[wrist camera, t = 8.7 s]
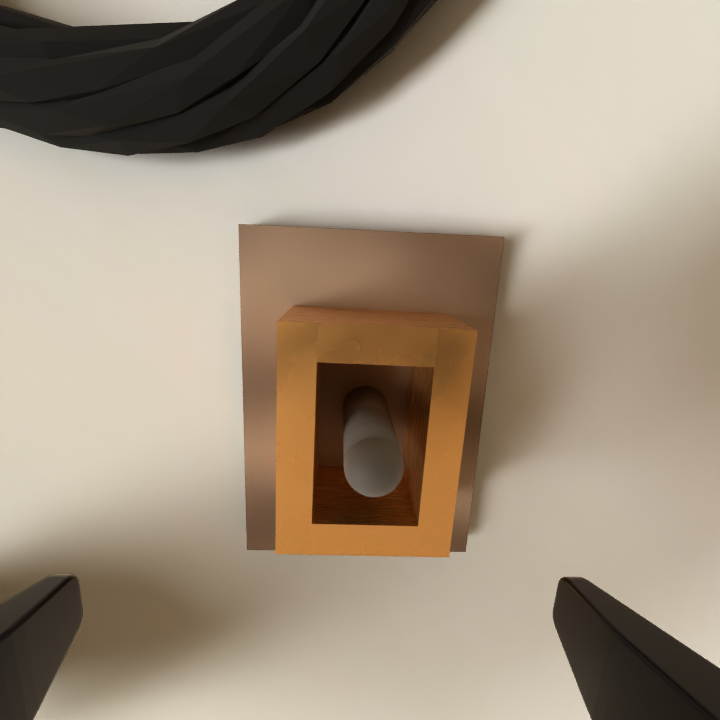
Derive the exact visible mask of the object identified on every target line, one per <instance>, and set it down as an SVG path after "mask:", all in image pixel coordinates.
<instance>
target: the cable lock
mask: <svg viewBox="0 0 720 720" xmlns="http://www.w3.org/2000/svg"><path fill="white" fill-rule="evenodd" d="M436 1H437V0H236V1H234V2H232V3H230V4H228V5H226V6H224V7H222V8H220V9H218V10H216V11H214V12H212V13H210V14H208V15H206V16H204V17H202V18H200V19H198V20H196V21H194V22H177V23H152V24H127V25H102V26H78V27H72V26H69V25H65V24H62V23H59V22H55V21H52V20H49V19H45V18H42V17H39V16H35V15H32V14H29V13H25V12H22V11H19V10H15V9H12V8H9V7H5V6H2V5H0V128H6V129H9V130H12V131H15V132H18V133H21V134H24V135H27V136H30V137H32V138H35V139H38V140H41V141H44V142H47V143H50V144H53V145H56V146H59V147H64V148H72V149H80V150H88V151H96V152H104V153H112V154H120V155H128V156H129V155H134V154H138V153H139V154H149V153H184V152H201V151H205V150H209V149H213V148H217V147H221V146H225V145H229V144H234V143H238V142H242V141H246V140H250V139H254V138H258V137H262V136H264V135H265V134H267V133H268V132H270V131H271V130H273V129H274V128H276V127H278V126H280V125H282V124H284V123H287V122H289V121H291V120H293V119H296V118H298V117H300V116H302V115H305V114H307V113H309V112H311V111H314V110H316V109H318V108H320V107H322V106H325V105H327V104H329V103H331V102H332V101H333V100H335V99H336V98H337V97H338V96H339V95H341V94H342V93H343V92H344V91H345V90H347V89H348V88H349V87H350V86H351V85H353V84H354V83H355V82H356V81H357V80H358V79H360V78H361V77H362V76H363V75H364V74H366V73H367V72H368V71H369V70H370V69H372V68H373V67H374V66H375V65H376V64H378V63H379V62H380V61H381V60H382V59H384V58H385V57H386V56H387V55H388V54H390V53H391V52H392V51H393V50H394V49H395V47H396V46H397V45H398V44H399V42H400V41H401V40H402V38H403V37H404V36H405V35H406V33H407V32H408V31H409V30H410V29H411V28H412V27H413V26H414V25H415V24H416V23H417V22H418V20H419V19H420V18H421V17H422V16H423V15H424V14H425V13H426V12H427V11H428V10H429V9H430V8H431V6H432V5H433V4H434V3H435V2H436Z"/></svg>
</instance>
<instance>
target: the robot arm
mask: <svg viewBox="0 0 720 720" xmlns="http://www.w3.org/2000/svg"><path fill="white" fill-rule="evenodd" d="M82 616H83V608H82V601H81V593H80V586H79V580H78V578H77V577H76V576H75V575H72V574H54V575H50V576H48V577H46V578H44V579H42V580H40V581H39V582H37V583H35V584H33V585H32V586H30V587H28V588H27V589H25V590H23V591H21V592H20V593H18V594H16V595H14V596H13V597H11V598H9V599H7V600H6V601H4V602H2V603H1V604H0V720H33V719H34V717H35V715H36V714H37V712H38V710H39V708H40V706H41V704H42V702H43V700H44V698H45V696H46V694H47V692H48V690H49V687H50V685H51V683H52V681H53V679H54V677H55V675H56V673H57V671H58V669H59V667H60V665H61V663H62V661H63V659H64V657H65V655H66V653H67V651H68V649H69V647H70V645H71V643H72V641H73V639H74V637H75V635H76V633H77V631H78V629H79V626H80V624H81V621H82ZM553 620H554V624H555V627H556V630H557V633H558V635H559V638H560V640H561V643H562V646H563V648H564V651H565V653H566V656H567V658H568V661H569V664H570V666H571V669H572V671H573V674H574V677H575V679H576V682H577V684H578V687H579V689H580V692H581V695H582V697H583V700H584V702H585V705H586V707H587V710H588V712H589V714H590V717H591V719H592V720H720V668H718V667H717V666H715V665H714V664H712V663H711V662H709V661H708V660H706V659H705V658H703V657H702V656H700V655H699V654H697V653H696V652H694V651H693V650H691V649H690V648H688V647H687V646H685V645H684V644H682V643H681V642H679V641H678V640H676V639H675V638H673V637H672V636H670V635H669V634H667V633H666V632H664V631H663V630H661V629H660V628H658V627H657V626H655V625H654V624H652V623H651V622H649V621H648V620H646V619H645V618H643V617H642V616H641V615H639V614H638V613H636V612H635V611H633V610H632V609H630V608H629V607H627V606H626V605H624V604H623V603H621V602H620V601H618V600H617V599H615V598H614V597H612V596H611V595H609V594H608V593H606V592H605V591H603V590H602V589H600V588H599V587H597V586H596V585H594V584H593V583H591V582H590V581H588V580H586V579H585V578H582V577H563V578H561V579H560V580H559V583H558V587H557V592H556V598H555V603H554V608H553Z"/></svg>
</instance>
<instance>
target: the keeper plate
mask: <svg viewBox="0 0 720 720" xmlns="http://www.w3.org/2000/svg"><path fill="white" fill-rule="evenodd" d="M503 242H504V237H495V236H474V235H453V234H433V233H412V232H391V231H371V230H350V229H330V228H309V227H288V226H268V225H247V224H239V260H240V298H241V336H242V374H243V413H244V451H245V489H246V527H247V550H275V537H276V404H277V321H278V320H279V319H280V318H281V317H282V316H283V315H284V314H285V313H286V312H287V311H288V310H289V309H290V308H291V307H292V306H310V307H330V308H349V309H369V310H389V311H408V312H428V313H445V314H447V315H449V316H451V317H453V318H455V319H457V320H459V321H460V322H462V323H464V324H466V325H468V326H470V327H472V328H473V329H475V330H477V339H476V347H475V355H474V363H473V371H472V379H471V386H470V394H469V402H468V410H467V418H466V426H465V434H464V442H463V450H462V458H461V466H460V474H459V482H458V490H457V498H456V506H455V514H454V521H453V529H452V537H451V545H450V552H466V544H467V535H468V527H469V519H470V511H471V503H472V495H473V487H474V478H475V470H476V462H477V454H478V446H479V438H480V429H481V421H482V413H483V405H484V397H485V389H486V380H487V372H488V364H489V356H490V348H491V340H492V332H493V323H494V315H495V307H496V299H497V291H498V283H499V274H500V266H501V258H502V250H503ZM409 378H410V366H392V365H369V364H347V363H324V362H322V378H321V407H320V436H319V465H322V466H344V473H345V476H346V479H347V481H348V483H349V484H350V486H351V487H352V488H353V489H354V490H355V491H357V492H358V493H360V494H362V495H364V496H368V497H380V496H384V495H386V494H388V493H390V492H391V491H393V490H394V489H395V488H396V487H397V486H398V484H399V483H400V481H401V479H402V476H403V473H404V460H403V446H404V434H405V423H406V412H407V400H408V389H409Z"/></svg>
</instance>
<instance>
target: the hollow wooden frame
mask: <svg viewBox="0 0 720 720" xmlns="http://www.w3.org/2000/svg"><path fill="white" fill-rule="evenodd" d="M476 339H477V330H475V329H473V328H472V327H470V326H468V325H466V324H464V323H462V322H460V321H459V320H457V319H455V318H453V317H451V316H449V315H447V314H445V313H428V312H408V311H389V310H369V309H349V308H330V307H310V306H292V307H291V308H290V309H289V310H288V311H287V312H286V313H285V314H284V315H283V316H282V317H281V318H280V319H279V320H278V321H277V404H276V537H275V554H307V555H361V556H415V557H449V553H450V545H451V537H452V529H453V521H454V514H455V506H456V498H457V490H458V482H459V474H460V466H461V458H462V450H463V442H464V434H465V426H466V418H467V410H468V402H469V394H470V386H471V379H472V371H473V363H474V355H475V347H476ZM322 362H324V363H347V364H369V365H392V366H410V378H409V389H408V400H407V412H406V423H405V434H404V446H403V460H404V473H403V476H402V479H401V481H400V483H399V484H398V486H397V487H396V488H395V489H394V490H393V491H391V492H390V493H388V494H386V495H384V496H380V497H368V496H364V495H362V494H360V493H358V492H357V491H355V490H354V489H353V488H352V487H351V486H350V484H349V483H348V481H347V479H346V476H345V473H344V466H322V465H319V436H320V407H321V378H322Z"/></svg>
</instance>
